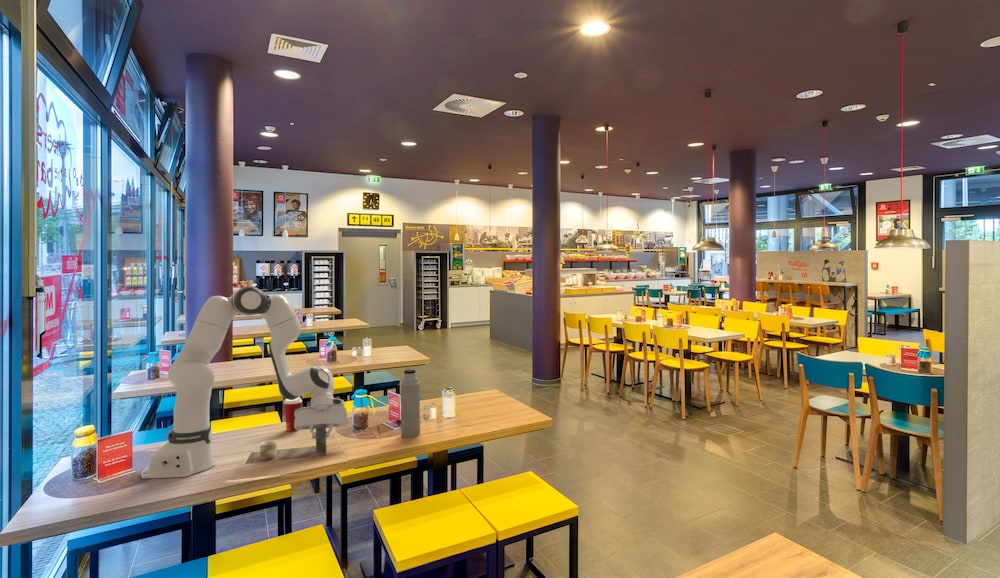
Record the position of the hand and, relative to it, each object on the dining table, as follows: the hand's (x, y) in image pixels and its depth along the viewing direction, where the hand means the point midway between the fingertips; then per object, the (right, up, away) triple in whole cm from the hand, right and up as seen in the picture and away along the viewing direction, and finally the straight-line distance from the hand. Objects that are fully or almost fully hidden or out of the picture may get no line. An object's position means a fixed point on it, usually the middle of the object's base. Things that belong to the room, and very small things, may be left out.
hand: (320, 437), depth 195 cm
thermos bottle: (+31, -6, +22) cm, 39 cm away
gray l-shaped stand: (-12, -6, -3) cm, 14 cm away
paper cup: (-23, -6, +30) cm, 38 cm away
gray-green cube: (-18, -6, -5) cm, 20 cm away
